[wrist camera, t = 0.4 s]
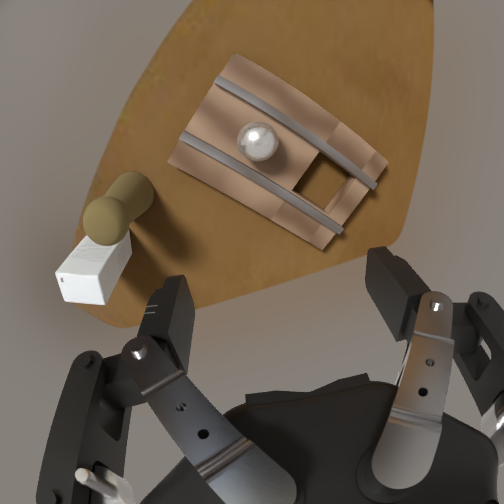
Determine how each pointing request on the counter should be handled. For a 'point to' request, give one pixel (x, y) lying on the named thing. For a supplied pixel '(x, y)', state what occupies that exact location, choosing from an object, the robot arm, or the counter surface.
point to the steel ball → (257, 141)
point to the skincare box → (93, 271)
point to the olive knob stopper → (118, 208)
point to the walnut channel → (286, 156)
